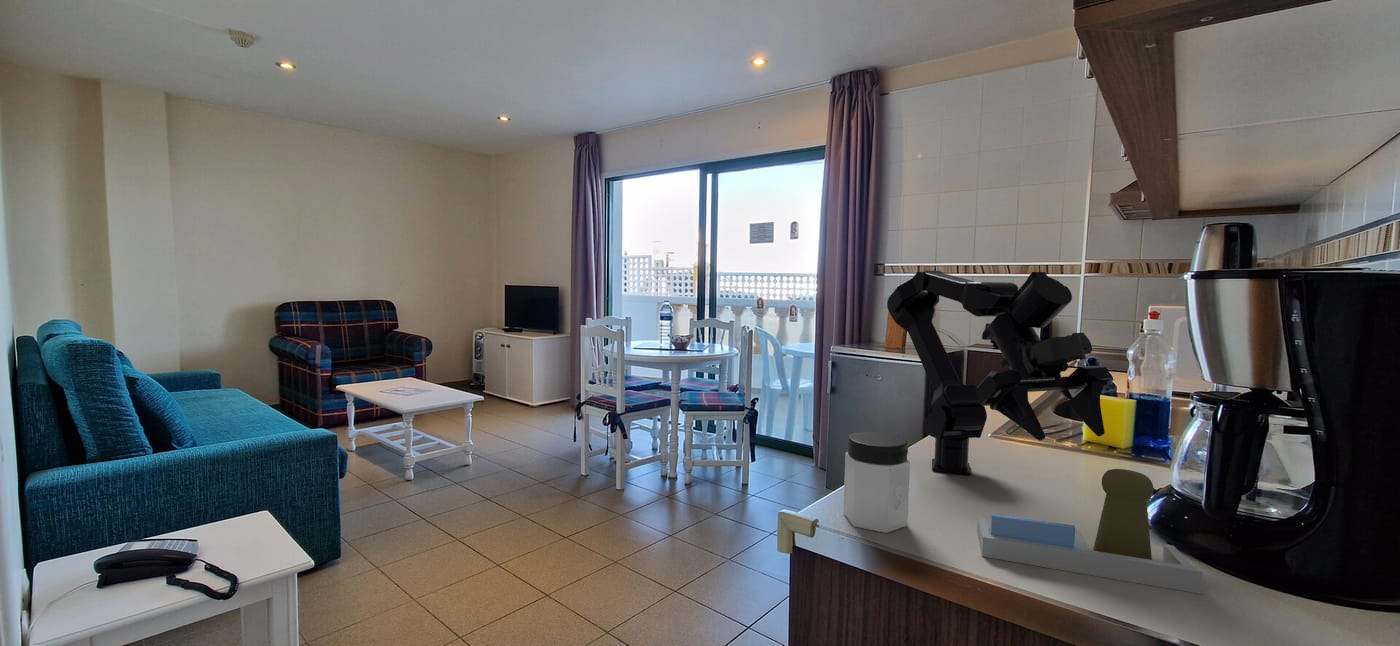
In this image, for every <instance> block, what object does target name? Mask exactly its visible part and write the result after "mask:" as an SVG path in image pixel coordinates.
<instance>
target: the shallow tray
mask: <svg viewBox="0 0 1400 646" xmlns="http://www.w3.org/2000/svg"><path fill="white" fill-rule="evenodd" d="M990 516H991V518H990V527H989V526H988V521H987V518H986V517H982V516H977V525H976V526H977V529H976V533H977V538H978V541H979V546H980V547H979V549H980V553H981V557H985V558H990V559H996V560H1001V561H1008V562H1012V563H1019V564H1025V565H1031V566H1036V567H1041V568H1047V569H1054V570H1059V571H1066V572H1071V573H1072V572H1073V573H1077V574H1082V575H1089V576H1094V577H1095V576H1096V577H1102V578H1106V579H1112V580H1118V581H1119V580H1120V581H1124V582H1128V583H1129V582H1130V583H1135V584H1143V585H1148V586H1153V587H1159V588H1163V589H1164V588H1165V589H1171V590H1178V591H1183V592H1187V593H1193V594H1200V595H1201V594H1202V586H1203V575H1204V574H1203V570H1201V569H1200V567H1198V566H1193V564H1191V562H1189V561H1188V560H1187V558H1186V557H1185V556H1184V555H1183V554H1182V553H1181V552H1180V551H1179V550H1178V549H1177V548H1176V547H1175V545H1171V544H1163V550H1162V560H1161V561H1160V560H1154V559H1152V560H1149V559H1142V558H1136V557H1130V556H1123V555H1117V554H1111V553H1104V552H1098V551H1093V550H1091V549H1090V547H1089V545H1088V544H1087V542H1086V540H1085V538H1084V536H1082V534H1081V532H1080V531H1076V527H1075V525H1073V524H1068V523H1067V524H1066V523H1060V522H1053V521H1045V520H1039V519H1033V518H1025V517H1019V516H1011V515H1005V514H998V513H991V515H990Z"/></svg>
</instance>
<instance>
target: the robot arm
mask: <svg viewBox="0 0 1400 646" xmlns="http://www.w3.org/2000/svg"><path fill="white" fill-rule="evenodd" d="M913 275H914V276H913V277H912V278H910V279H908V280H906V281H905V282H903V283H902V284H900V285H897V287H896V288H895V289H894V291H893V292H892V293H891V294H890V296H889V297H888V299H887V302H886V307H887V311H888V312H889V314H890V316H891V318H892V319H893V321H894V323H895V324H896V325H898V326H899V328H901V329H903V330H904V331H906V332H907V333H908V335H909V337H910V339H911V342H912V344H913V346H914V349H915V351H916V354H917V356H918V358H919V360H920V363H921V366H922V367H923V369H924V372H925V374H926V376H927V379H928V381H929V383H930V385H931V387H932V390H933V396H932V400H931V404H930V407H931V413H930V414H929V415H928V416H927V417H926V419H925V420H924V421H923V429H924V430H923V431H924V433H925V434H926V435H928V436H930V437H932V438H935V439H934V457H933V458H931V471H934V472H942V473H949V474H957V475H967V476H971V475H972V470H971V466H970V463H969V449H970V448H969V446H970V439H972V438H973V439H975V438H977V439H981V437H982V434H983V431H984V428H985V425H986V422H987V418H988V413H987V410H986V407H985V406H987V407H988V406H989V408H990V409H991V410H993V411H997V412H999V413H1000V414H1001V415H1003V416H1005V417H1007V418H1008V419H1010V420H1011V421H1012V422H1013V423H1015V424H1016V425H1018V427H1021V428H1022V429H1023V430H1024V431H1026V432H1027V433H1028V434H1029V435H1031V436H1032V437H1034V438H1035V439H1036V440H1037V441H1039V442H1041V441H1044V439H1046V435H1045V432H1044V429H1043V426H1042V425H1041V423H1040V421H1039V419H1038V417H1037V415H1036V413H1035V410H1033V407H1032V405H1031V403H1030V402H1029V393H1033V392H1047V391H1048V392H1052V391H1053V392H1054V391H1061V393H1062V395H1063V396H1064V397H1065V398H1066V399H1069V400H1068V402H1067V405H1069V407H1070V408H1071V410H1073V412H1075V414H1076V415H1077V416H1078V417H1079V418H1080V419H1081V420H1082V422H1083V423H1084V424H1085V425H1086V426H1087V428H1089V430H1090V431H1091V432H1092V433H1093V434H1094V435H1095V436H1097V437H1102V436H1103V435H1105V433H1106V431H1105V427H1104V420H1103V413H1102V407H1101V395H1102V392H1103V391H1104V390H1106V389H1107V387H1108V386H1109V384H1110V383H1112V381H1114V380H1115V378H1114V377H1113V375H1112V374H1111V372H1110V371H1109V369H1108V368H1107V367H1106V366H1103V365H1087V366H1083V365H1082V366H1078V367H1077V368H1076V369H1074V370H1073V371H1072V372H1071V373H1070V374H1069V375H1068V376H1067V375H1066V376H1062V375H1061V373H1063V372H1066V371H1067V370H1068V369H1069V368H1070V365H1069V364H1070V363H1072V362H1074V361H1077V360H1081V361H1082V360H1085V359H1086V358H1087V357H1086V355H1089V354H1091V353H1092V351H1093V345H1092V343H1091V340H1090V339H1089V338H1088V336H1087V335H1086V334H1085V333H1084V332H1073V333H1071V334H1068V335H1066V336H1054V337H1050V338H1047V339H1045V340H1041V338H1040V336H1039V335H1038V333H1037V332H1036V330H1035V328H1036V329H1042V328H1045V327H1046V326H1048V325H1049V324H1050V323H1051V322H1052V321H1053V320H1054V319H1055V318H1056V317H1057V316H1058V315H1059V314H1060V313H1061V312H1062V311H1063V310H1064V309H1065V308H1066V307H1067V306H1068V305H1069V304H1070V303H1071V301H1072V300H1073V294H1072V292H1071V290H1070V288H1068V285H1067V286H1066V285H1064V284H1063V283H1062V282H1060V281H1058V280H1057V279H1055V278H1053V277H1050V276H1048V274H1047V273H1046V272H1045V271H1032V272H1031V273H1030V274H1029V276H1028V277H1027V278H1026V280H1025V281H1024V283H1023V284H1022V285H1021V286H1020V287H1019V286H1018V285H1017V284H1015V283H1013V282H1005V281H1003V282H1002V281H1001V282H1000V281H999V282H997V281H996V282H994V281H993V282H990V281H975V280H972V279H968V278H963V277H959V276H956V275H951V274H948V273H944V272H943V271H941V270H920V271H917V272H915V274H913ZM940 297H943V298H946V299H949V300H952V301H955V302H958V303H960V304H962V308H963V309H964V310H965V311H967V312H968V313H970V314H971V315H973V316H975V317H978V318H979V317H983V318H985V317H988V318H989V317H992V318H993V317H994V319H993V320H992V321H991V322H989V323H986V324H985V328H984V330H983V331H982V334H981V340H985V341H993V340H994V341H995V342H994V343H996V345H997V347H998V348H999V351H1000V353H1001V355H1002V356H1003V359H1002V361H1001V362H1000V365H1001V366H1002V370H991V371H990V372H989V373H988V374H987V375H986V377H985V378H984V379H983V380H982V381H981V382H980V384H979V385H977V386H976V385H975V384H964V383H963V382H961V380H960V378H959V376H958V374H957V371H956V370H955V367H954V365H953V364H952V361H951V359H950V357H949V355H948V353H947V351H946V348H945V346H944V344H943V342H942V340H941V338H940V335H939V334H938V332H937V329H936V327H935V326H934V324H933V323H934V322H933V318H934V314H935V311H936V309H935V307H936V305H938V303H939V302H940ZM1003 369H1005V370H1003ZM1006 369H1007V370H1006Z"/></svg>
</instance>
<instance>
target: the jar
mask: <svg viewBox="0 0 1400 646" xmlns="http://www.w3.org/2000/svg"><path fill="white" fill-rule="evenodd" d="M847 440H848V441H847V442H848V443H847V451H846V452H845V456H844V457H845V458H844V481H843V482H844V485H843V486H844V487H843V488H844V489H843V490H844V491H843V514H844V516H845V517H846V519H847V520H848V521H849V523H851V525H852V526H853V527H854V528H858V529H863V530H864V529H865V530H869V531H874V532H878V533H883V534H888V533H890V532H894V531H896V530H899V529H902V528H904V527H907V526H908V522H909V521H908V520H909V498H910V497H909V496H910V495H909V494H910V470H911V469H910V468H911V462H910V460H909V459H908V454H909V447H908V445H909V444H908V441H907V439H906V438H904V437H902V436H899V435H897V434H893V433H888V432H880V431H858V432H853V433H852V434H851V433H850V434H849V435H848V439H847Z"/></svg>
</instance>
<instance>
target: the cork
mask: <svg viewBox="0 0 1400 646" xmlns="http://www.w3.org/2000/svg"><path fill="white" fill-rule="evenodd" d="M1101 487H1102V489H1103V491H1104V494H1105V499H1104V503H1103V507H1102V511H1101V514H1100V519H1099V522H1098V527H1097V531H1096V532H1097V533H1096V536H1095V539H1094V544H1093V550H1092V551H1098V552H1104V553H1111V554H1117V555H1123V556H1130V557H1136V558H1142V559H1149V560H1153V557H1152V545H1151V535H1150V525H1149V523H1150V521H1149V512H1148V503H1147V502H1148V501H1150V500H1151V498H1152V497H1153V494H1154V484H1153V482H1152V480H1151V479H1150V477H1149V476H1147V475H1146V474H1144V473H1141V472H1137V471H1135V470H1131V469H1126V468H1125V469H1124V468H1123V469H1122V468H1112V469H1108V470H1106V472H1104V474H1103V475H1102V477H1101Z"/></svg>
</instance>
